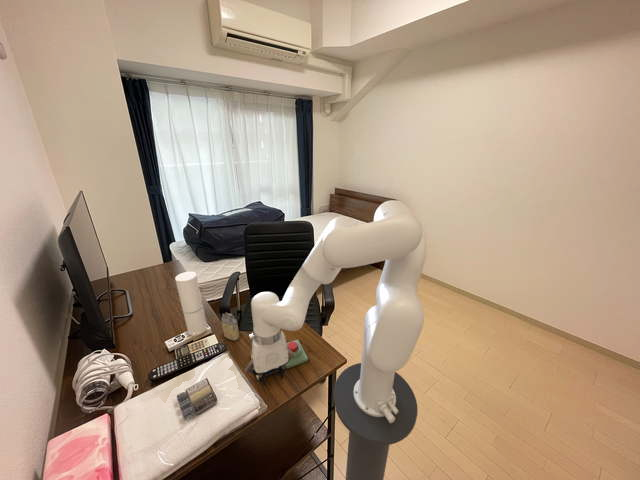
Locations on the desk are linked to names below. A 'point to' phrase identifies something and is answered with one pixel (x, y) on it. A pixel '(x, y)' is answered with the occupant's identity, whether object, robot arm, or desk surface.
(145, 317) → the desk surface
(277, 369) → the lever
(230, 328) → the yellow grey jar
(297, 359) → the control box
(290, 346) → the button
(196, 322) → the cylindrical container
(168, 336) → the desk surface
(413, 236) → the robot arm
